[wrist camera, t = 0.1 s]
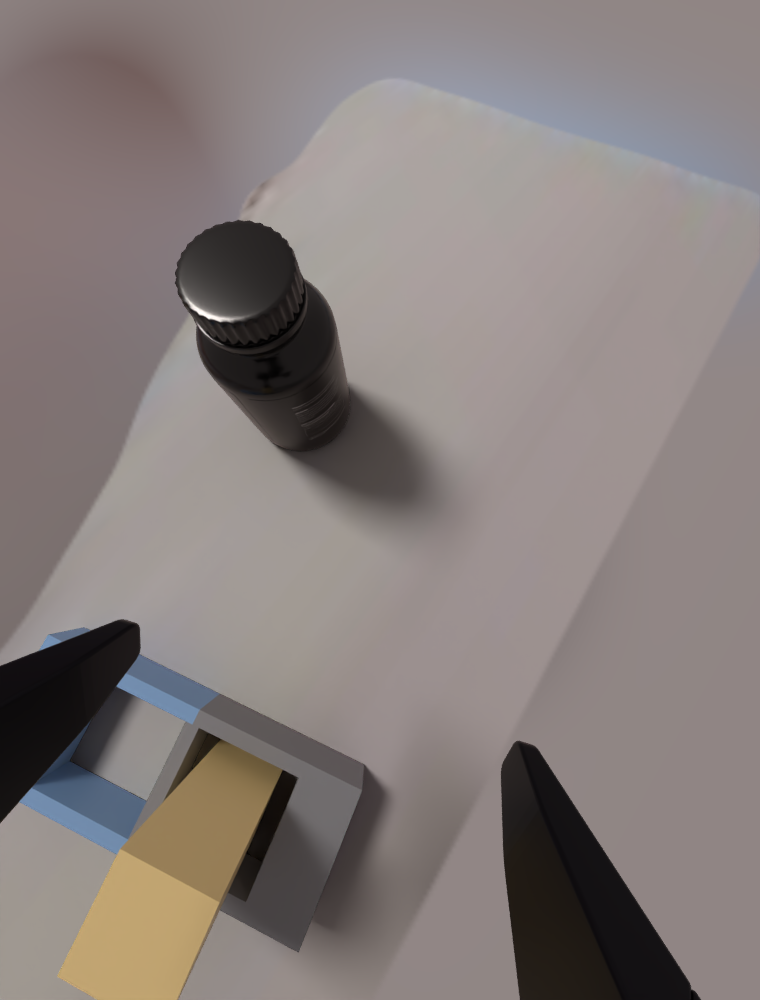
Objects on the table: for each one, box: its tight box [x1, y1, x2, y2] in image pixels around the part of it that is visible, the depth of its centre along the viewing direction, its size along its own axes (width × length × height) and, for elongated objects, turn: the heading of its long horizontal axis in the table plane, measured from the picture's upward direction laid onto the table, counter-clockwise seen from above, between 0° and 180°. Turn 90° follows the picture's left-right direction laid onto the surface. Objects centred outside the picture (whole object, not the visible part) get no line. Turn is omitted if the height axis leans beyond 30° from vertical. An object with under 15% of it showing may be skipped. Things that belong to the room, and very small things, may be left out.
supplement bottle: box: [175, 220, 350, 451], centre depth 20 cm, size 7×7×12 cm
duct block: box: [19, 628, 364, 952], centre depth 20 cm, size 19×8×2 cm, turn 66°
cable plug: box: [57, 739, 283, 1000], centre depth 17 cm, size 4×4×9 cm
